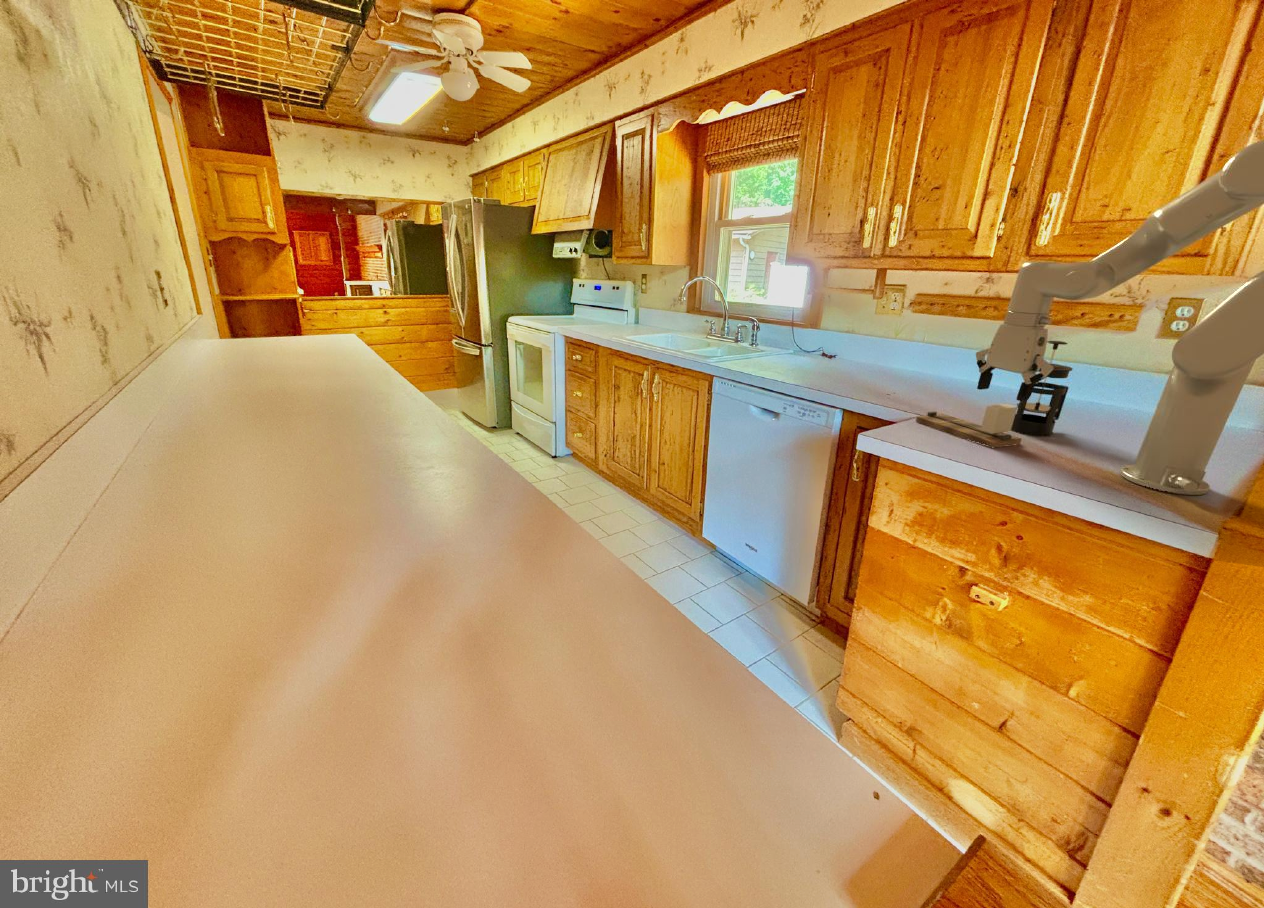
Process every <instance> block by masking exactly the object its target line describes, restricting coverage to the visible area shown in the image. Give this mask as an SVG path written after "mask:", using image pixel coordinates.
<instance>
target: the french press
mask: <svg viewBox="0 0 1264 908" xmlns="http://www.w3.org/2000/svg"><path fill="white" fill-rule="evenodd" d="M1047 344H1050V345H1051V344H1052V347H1051V348H1052V350H1053V351H1052V354H1051V357H1050V360H1049V362H1048V363H1049V364H1050V365H1051V366H1053V367H1054V369H1053V371H1051V372H1050V373H1049V374H1048V375H1047V376H1046V378H1045V379H1043V382H1042V381H1039V382H1038V383H1036V384H1035V385H1034V388H1033V391H1032V394H1039V397H1038V399H1037V401H1036V403H1034V402H1028V400H1023V401H1019V402H1018V403H1016V407H1017V410H1016V414H1015V417H1014V421H1013V424H1012V428H1011V432H1014V433H1017V434H1019V435H1020V434H1021V435H1025V434H1026V435H1025V436H1031V437H1043V438H1044V437H1051V436H1053V435H1054V432H1053V431H1054V428H1055V425H1056V421H1058V420H1059V418H1060V415H1061V413H1062V410H1063V407H1064V403H1065V401H1066V397H1067V394H1068V390H1069V386H1067V385H1065V384H1056V383H1050V382H1047V379H1067V378H1068V377H1069V373H1070V372H1071V371H1073V367H1071V366H1067V365H1061V364H1057V363H1052V362H1053V359H1054V356H1055V353H1056V350H1058V347H1059V346H1060V345H1061V346H1062V345H1065V346H1066V345H1068V342H1065V341H1063V340H1061V341H1060V340H1047ZM1040 371H1041V368H1040V370H1039V371H1038V372H1037V373H1040ZM1022 383H1025V382H1024V381H1023V382H1021V384H1022ZM1042 395H1046V396H1051V398H1050V400H1049V405H1048V404H1042V403H1041V398H1042ZM1025 411H1026V412H1029V413H1025ZM1030 412H1031V413H1035V414H1031V413H1030ZM1036 413H1037V414H1038V415H1037V414H1036ZM1039 414H1042V415H1043V414H1045V416H1042V415H1039Z"/></svg>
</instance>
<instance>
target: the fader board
mask: <svg viewBox="0 0 1264 908" xmlns="http://www.w3.org/2000/svg"><path fill="white" fill-rule="evenodd" d="M915 423H918V424H922V425H923V426H927V427H929V426H930V428H932V429H935V428H936V430H938V429H939V430H938V431H941V432H944V431H945V432H944V433H947V434H949V433H950V435H952V434H954V435H953V436H955V437H958V436H959V438H961V437H963V438H962V439H964V440H966V439H969V440H971V441H970V442H972V441H975V442H979V443H981V444H985V445H988V446H990V447H1000V448H1002V447H1001V446H1005V445H1013V446H1015V445H1014V444H1019V445H1021V442H1022V438H1021V437H1018V436H1015V435H1012V434H1008V433H1007V432H1001V433H998V434H992V433H989V432H986V431H982V430H981V427H982V425H980V424H977V423H974V422H970V421H967V420H964V419H961V418H957V417H955V416H951V415H947V414H945V413H938V412H937V411H928V412H927V413H926V415H917V416H916V419H915ZM969 440H968V441H969ZM975 442H974V443H975ZM981 444H980V445H981Z"/></svg>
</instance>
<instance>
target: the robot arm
mask: <svg viewBox="0 0 1264 908" xmlns="http://www.w3.org/2000/svg"><path fill="white" fill-rule="evenodd" d="M1263 205H1264V139H1262V140H1259V141H1257V142H1254V143H1251V144H1249V145H1247V146H1245V147H1243V148H1242V149H1241V150H1239V151H1238V152H1236V153H1235V154H1234V155H1233V156H1231V158H1229V160H1228V161H1227V162H1226V163H1225V164H1224V166H1223V168H1222V169H1221V170H1219V171H1218V172H1216V173H1214V174H1212V175H1211V176H1210V177H1208V178H1207V179H1205V180H1203V181H1201V182H1200V183H1199V184H1197V185H1195V186H1194V187H1192V188H1191V189H1189V190H1187V191H1186V192H1184V193H1182V194H1181V195H1180V196H1179V195H1178V196H1177V197H1176V198H1174V199H1173V200H1171V201H1170V202H1168V203H1166V204H1164V205H1163V206H1161V207H1160V208H1158V209H1157V210H1155V211H1154V212H1153V213H1152V214H1150V215H1149V216H1148V217H1147V218H1146V219H1145V221H1144V222H1143V223H1142V224H1141V226H1139V227H1138V228H1137V229H1136V230H1135V231H1134V232H1132V234H1130V235H1129V236H1128V237H1126V238H1125V239H1123V240H1121V242H1119V243H1118V244H1116V245H1114V246H1113V247H1111V248H1109V249H1108V250H1106V251H1105V252H1103V253H1101V254H1099V255H1098V256H1096V257H1094V258H1093V259H1091V260H1090V261H1089V260H1088V261H1078V262H1077V261H1075V262H1066V263H1062V262H1059V261H1058V262H1057V261H1046V260H1045V261H1043V260H1042V261H1041V260H1036V261H1035V260H1034V261H1033V260H1030V261H1026V262H1024V263H1023V264H1021V266H1020V268H1019V270H1018V273H1017V277H1016V279H1015V284H1014V287H1013V290H1012V294H1011V297H1010V300H1009V305H1008V307H1007V310H1006V314H1005V317H1004V320H1003V322H1002V324H1000V325H999V327H998V328H997V330H996V332H995V335H994V336H993V339H992V341H991V344H990V346H989V348H986V349H982V350H980V351H976V352H975V358H976V365H977V367H978V372H979V373H980V374H979V375H980V376H979V378H978V382H977V387H976V388H977V390H981V391H982V390H988V389H989V388H990V386H991V382H992V379H993V375H994V374H993V372H992V371H993V370H995V369H998V370H1001V371H1008V372H1012V373H1015V374H1020V375H1021V376H1022V379H1023V382H1025V383H1022V382H1021V384H1020V386H1019V390H1018V391H1017V392H1018V393H1017V397H1016V401H1018V402H1020V401H1023V400H1027V401H1028V400H1029V399H1030V398H1031V396H1032V394H1033V393H1032V391H1033V388H1035V387H1034V385H1035V384H1036V383H1038V382H1042V380H1043V381H1044V380H1045V378H1046V376H1047V375H1048V374H1049V373H1050V372H1051V371H1053V369H1054V367H1053V366H1051V365H1050V364H1049V363H1050V362H1048V361H1047V360H1045V359H1044V358H1045V354H1046V349H1047V344H1048V343H1047V341H1048V336H1049V335H1048V333H1049V332H1048V331H1049V330H1048V328H1045V327H1046V325H1050V324H1052V322H1053V318H1052V317H1049V316H1050V311H1051V308H1052V305H1053V303H1054V300H1055V298H1056V299H1061V300H1066V301H1072V302H1077V301H1083V300H1084V301H1085V300H1087V299H1088V300H1089V299H1094V298H1096V297H1100V296H1102V295H1103V294H1105V293H1108V292H1110V291H1111V290H1113V289H1115V288H1116V287H1117V288H1118V286H1120V285H1122V284H1124V283H1125V282H1127V281H1130V280H1131V279H1133V278H1134V277H1137V276H1138V275H1140V274H1142V273H1143V272H1146V271H1148V270H1149V269H1151V268H1152V267H1154V266H1157V264H1159V263H1161V262H1163V261H1164V260H1166V259H1168V258H1170V257H1172V256H1174V255H1176V254H1178V253H1179V252H1181V251H1183V250H1184V249H1185V248H1187V247H1189V246H1191V245H1193V244H1195V243H1196V242H1199V240H1201V239H1203V238H1206V236H1209V235H1211V234H1212V233H1214V232H1215V231H1217V230H1219V229H1221V228H1223V227H1224V226H1226V225H1228V224H1230V223H1232V222H1233V221H1235V220H1238V219H1239V218H1241V217H1243V216H1244V215H1247V214H1248V213H1250V212H1252V211H1254V210H1256V209H1257V208H1259V207H1261V206H1263ZM1263 355H1264V270H1261V271H1260V272H1258V273H1257V274H1255V275H1254V276H1253V277H1251V278H1250V279H1248V280H1247V281H1246V282H1245V283H1244V284H1242V285H1240V287H1238V288H1237V289H1236V290H1235V291H1234V292H1233V293H1231V294H1230V295H1229V296H1228V297H1227V298H1225V300H1223V301H1222V302H1221V303H1219V304H1218V305H1216V307H1215V308H1214V309H1212V310H1211V311H1209V313H1207V314H1206V315H1205V316H1204V317H1202V318H1201V319H1200V320H1199V321H1198V322H1196V324H1195V325H1194V326H1192V327H1191V328H1190V329H1189V330H1187V331H1186V332H1185V333H1183V334H1182V336H1180V337H1179V338H1178V340H1177V341H1176V342H1175V344H1174V346H1173V348H1172V351H1171V360H1172V363H1173V367H1172V369H1171V371H1170V373H1169V376H1168V378H1167V380H1166V382H1165V385H1164V388H1163V390H1162V393H1161V395H1160V397H1159V400H1158V403H1157V404H1156V407H1155V409H1154V412H1153V415H1152V417H1151V420H1150V422H1149V425H1148V428H1147V429H1146V430H1147V431H1146V433H1145V435H1144V438H1143V440H1142V441H1141V442H1142V443H1141V444H1140V448H1139V450H1138V452H1137V455H1136V458H1135V461H1134V463H1133V464H1127V465H1123V466H1121V468H1120V472H1119V474H1120V475H1121V477H1123V478H1125V480H1127V481H1130V482H1132V483H1135V484H1136V485H1139V486H1143V487H1145V486H1146V488H1149V487H1150V489H1152V488H1153V489H1152V490H1156V489H1158V490H1157V491H1160V492H1161V491H1162V492H1165V491H1167V493H1171V492H1172V493H1171V494H1177V495H1178V494H1179V495H1186V496H1188V495H1189V496H1191V495H1192V496H1201V495H1205V494H1207V493H1209V490H1210V489H1211V486H1210V484H1209V483H1208V482H1206V481H1205V480H1204V477H1205V476H1206V474H1207V471H1206V468H1207V466H1208V464H1209V461H1210V460H1211V458H1212V455H1213V453H1214V450H1215V448H1216V446H1217V444H1218V442H1219V439H1220V437H1221V435H1222V433H1223V431H1224V428H1225V426H1226V423H1227V422H1228V420H1229V417H1230V415H1231V413H1232V412H1233V410H1234V407H1235V405H1236V403H1237V400H1238V399H1239V397H1240V394H1241V392H1242V390H1243V388H1244V386H1245V383H1246V381H1247V379H1248V377H1249V375H1250V373H1251V371H1252V369H1253V366H1254V365H1255V363H1256V361H1257V360H1258V359H1259V358H1260V357H1262V356H1263ZM1040 368H1041V371H1040V372H1038V371H1039V370H1040Z"/></svg>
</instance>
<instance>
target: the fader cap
mask: <svg viewBox="0 0 1264 908" xmlns="http://www.w3.org/2000/svg"><path fill="white" fill-rule="evenodd" d="M1017 410H1018V407H1017V406H1016V405H1015V406H1014V405H1010V404H1007V403H1002V404H993V405H992V404H991V405H987V406H986V408H985V412H984V416H983V420H982V423H981V426H982V427H981V430H982V431H986V432H989V433H992V434H998V433H1001V432H1003V433H1007V432H1008V433H1009V432H1012V430H1011V428H1012V424H1013V421H1014V417H1015V414H1016V413H1017Z"/></svg>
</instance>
